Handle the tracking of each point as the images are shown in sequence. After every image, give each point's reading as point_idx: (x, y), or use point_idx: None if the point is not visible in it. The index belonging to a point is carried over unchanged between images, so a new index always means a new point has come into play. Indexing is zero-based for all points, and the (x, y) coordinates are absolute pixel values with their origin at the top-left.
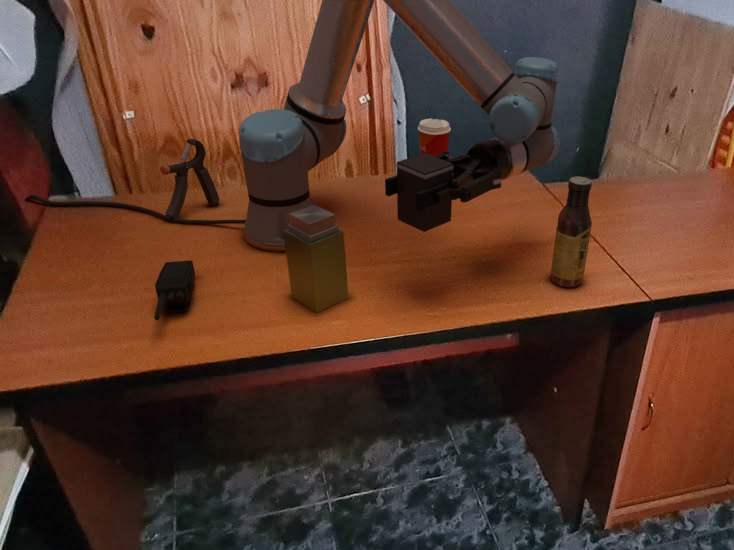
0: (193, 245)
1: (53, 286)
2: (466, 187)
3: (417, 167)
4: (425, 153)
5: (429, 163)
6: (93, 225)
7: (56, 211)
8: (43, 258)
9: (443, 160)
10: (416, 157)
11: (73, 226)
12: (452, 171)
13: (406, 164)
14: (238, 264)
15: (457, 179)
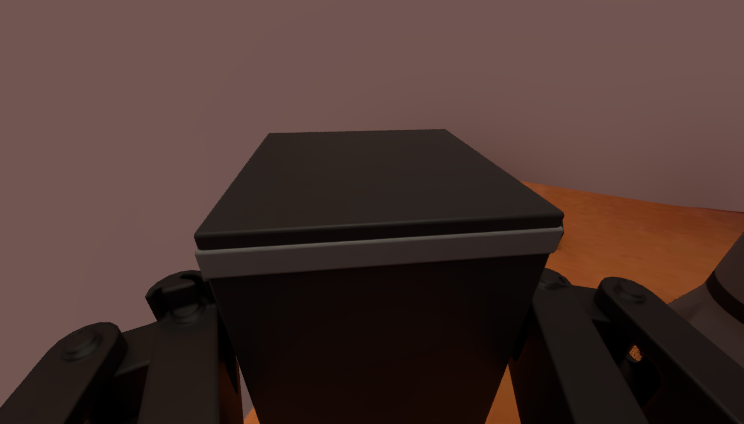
0: (656, 270)
1: (554, 194)
2: (61, 349)
3: (342, 137)
4: (542, 208)
5: (346, 166)
6: (705, 227)
7: (741, 217)
8: (611, 198)
9: (321, 222)
10: (470, 164)
11: (697, 218)
12: (215, 290)
13: (399, 132)
14: (589, 287)
15: (202, 396)
